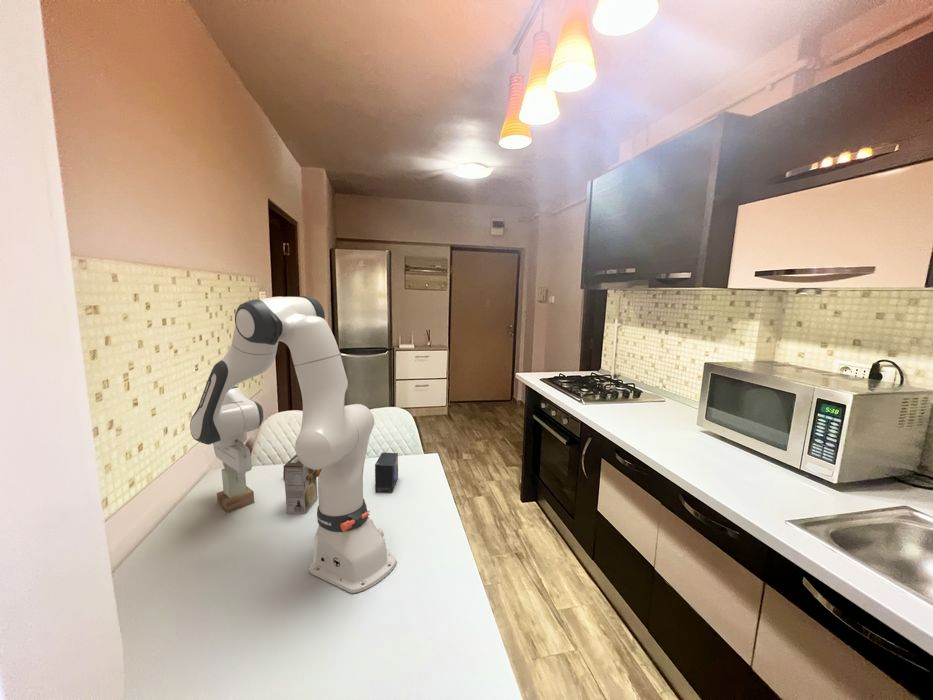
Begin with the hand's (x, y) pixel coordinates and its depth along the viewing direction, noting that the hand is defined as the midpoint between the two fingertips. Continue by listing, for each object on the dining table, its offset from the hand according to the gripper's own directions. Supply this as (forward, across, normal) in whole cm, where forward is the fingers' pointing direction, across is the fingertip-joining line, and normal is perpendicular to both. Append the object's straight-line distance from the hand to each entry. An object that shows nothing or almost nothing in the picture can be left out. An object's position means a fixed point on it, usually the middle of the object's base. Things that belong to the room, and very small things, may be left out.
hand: (234, 477), depth 123 cm
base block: (+9, 0, 0) cm, 9 cm away
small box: (+10, -29, -39) cm, 49 cm away
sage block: (+5, 0, 0) cm, 5 cm away
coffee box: (+10, -18, -13) cm, 24 cm away
